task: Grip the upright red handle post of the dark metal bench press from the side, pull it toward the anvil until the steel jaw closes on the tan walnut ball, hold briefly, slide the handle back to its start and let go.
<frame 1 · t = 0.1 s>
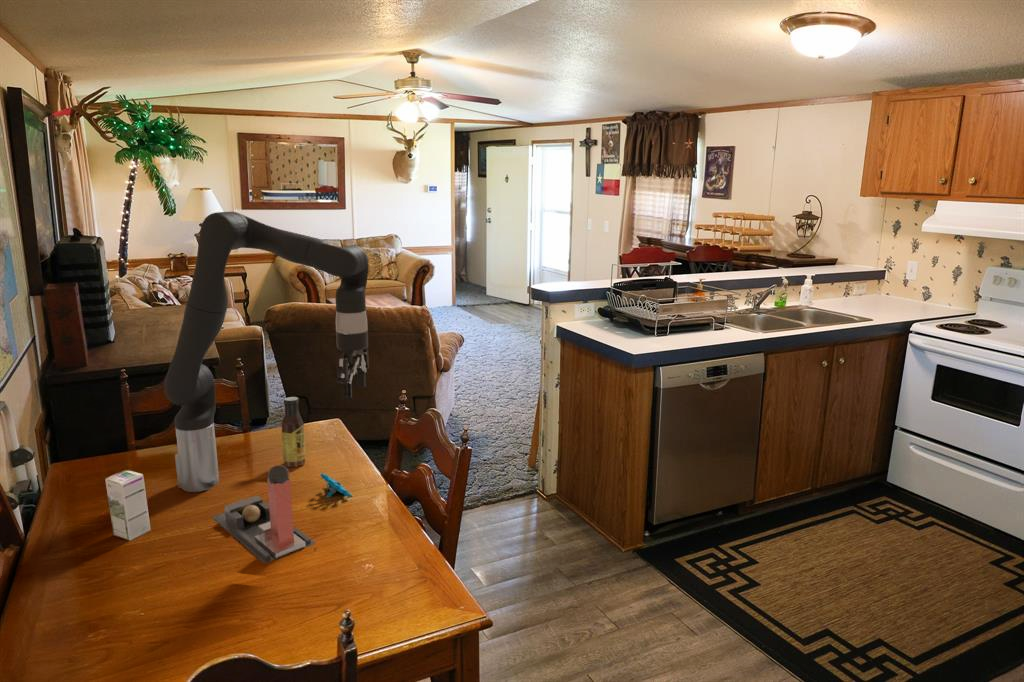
hand: (354, 392, 167), 29 cm above the table, tool pointing down, fingers open, 8 cm apart
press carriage: (277, 504, 148), point 11 cm above the table, slide at 0.0 cm
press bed: (262, 535, 156), on the table
syrup box: (132, 533, 157), on the table
gear: (336, 499, 175), on the table
sauce bottle: (295, 464, 196), on the table
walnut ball: (251, 521, 160), point 1 cm above the table, touching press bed
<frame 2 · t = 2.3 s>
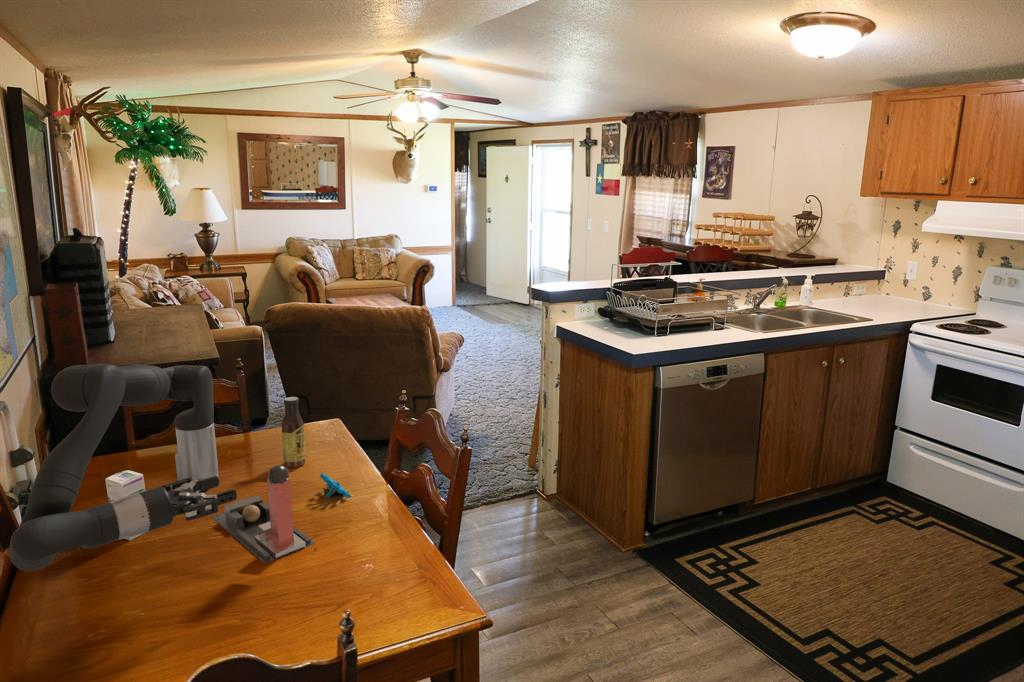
hand: (226, 487, 137), 19 cm above the table, tool horizontal, fingers open, 8 cm apart
nothing on the table moved.
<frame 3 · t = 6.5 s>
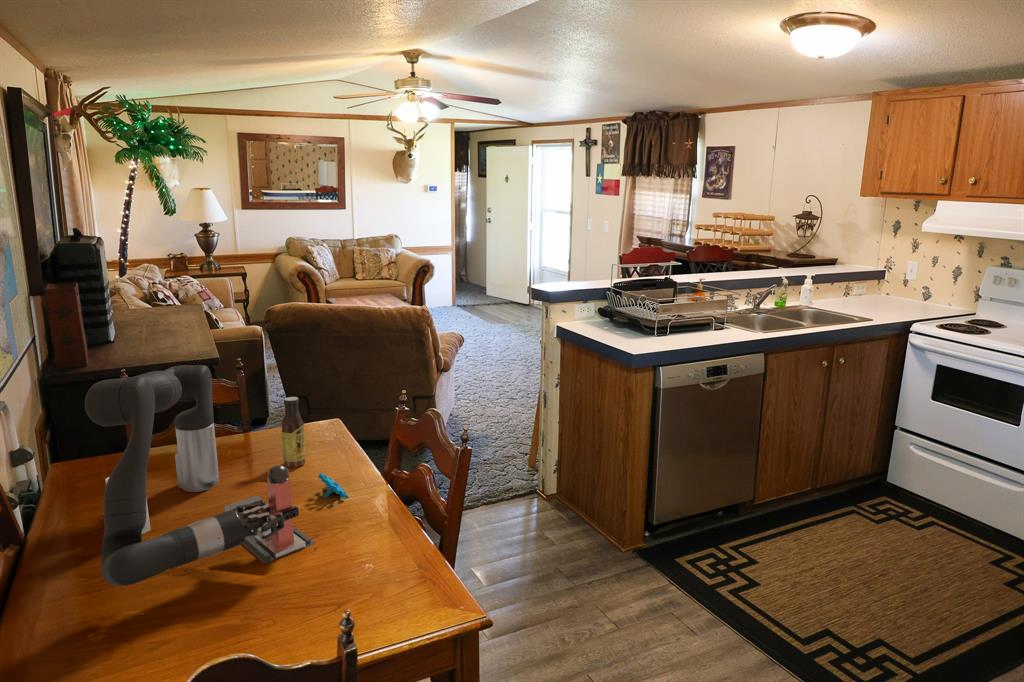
hand: (292, 507, 149), 10 cm above the table, tool horizontal, fingers closed on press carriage, 3 cm apart
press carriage: (277, 504, 148), point 11 cm above the table, slide at 0.0 cm, touching gripper
everything else where it was.
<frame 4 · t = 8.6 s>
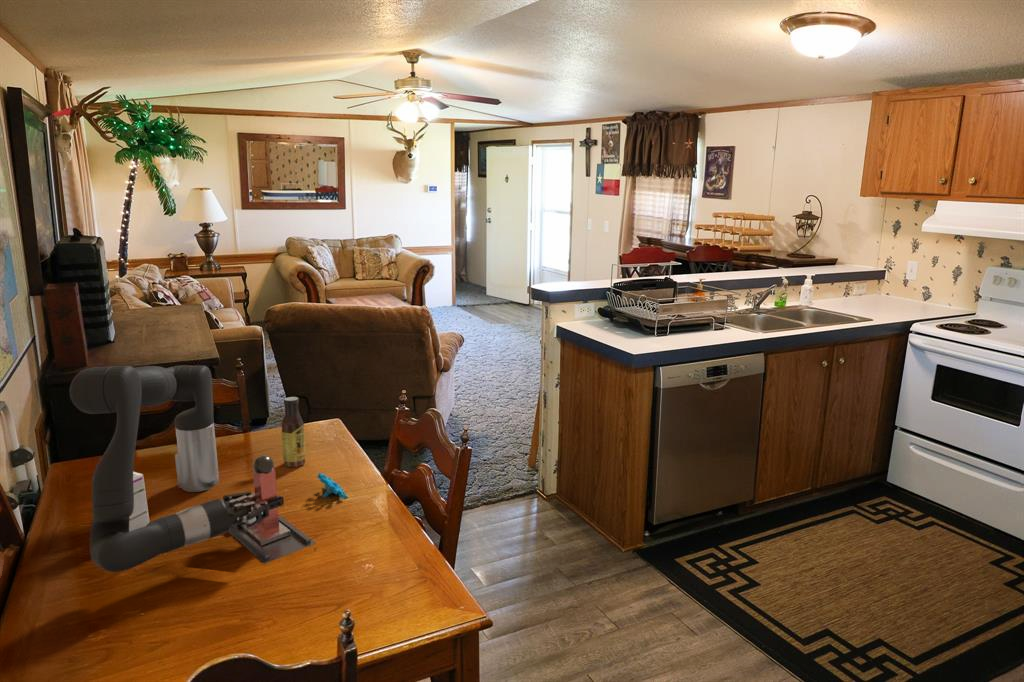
hand: (278, 497, 154), 10 cm above the table, tool horizontal, fingers closed on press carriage, 3 cm apart
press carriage: (262, 493, 152), point 11 cm above the table, slide at 6.9 cm, touching gripper
everything else where it was.
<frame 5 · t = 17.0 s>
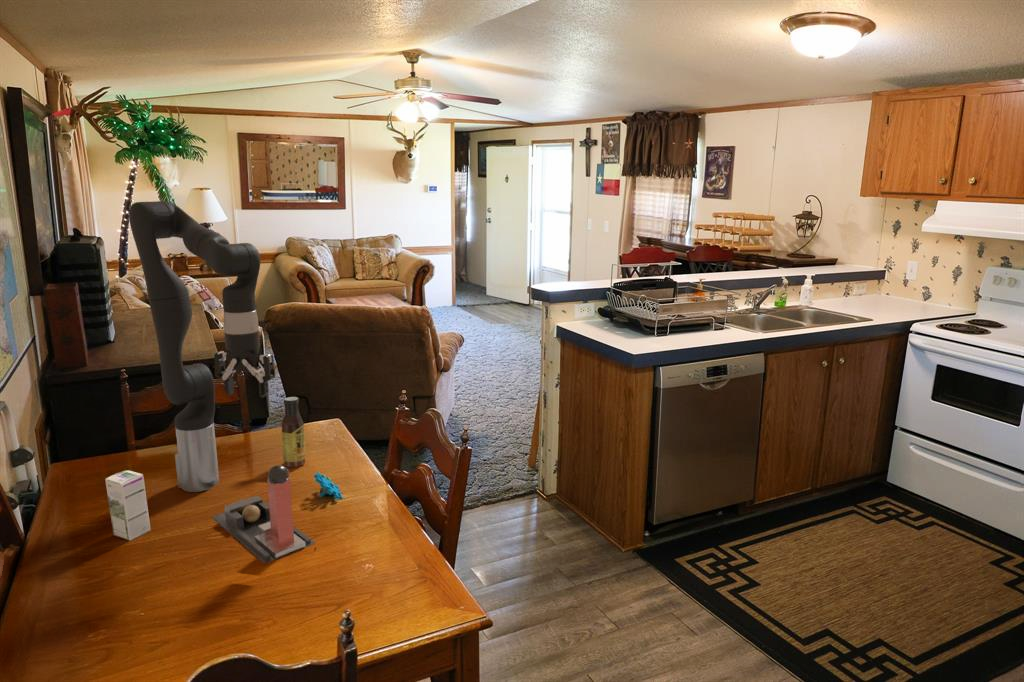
hand: (246, 395, 161), 30 cm above the table, tool pointing down, fingers open, 8 cm apart
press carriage: (277, 504, 148), point 11 cm above the table, slide at 0.0 cm
at the end: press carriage slide at 0.0 cm; the gripper is holding nothing; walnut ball 0.2 cm from the target spot on the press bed, point 1.5 cm above the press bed's base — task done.
